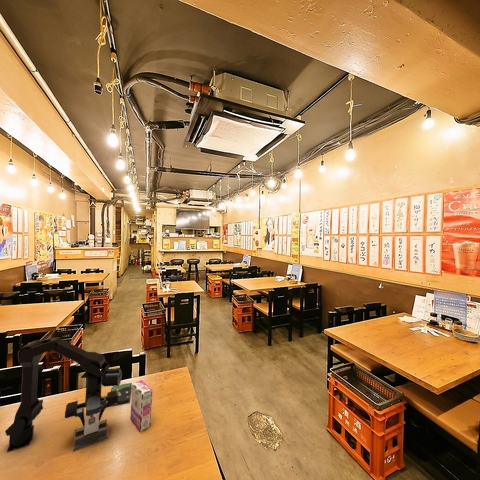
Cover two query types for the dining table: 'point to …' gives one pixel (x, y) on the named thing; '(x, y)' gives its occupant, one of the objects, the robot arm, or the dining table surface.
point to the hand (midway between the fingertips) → (91, 423)
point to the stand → (90, 436)
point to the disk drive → (122, 393)
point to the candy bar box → (141, 405)
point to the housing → (91, 424)
